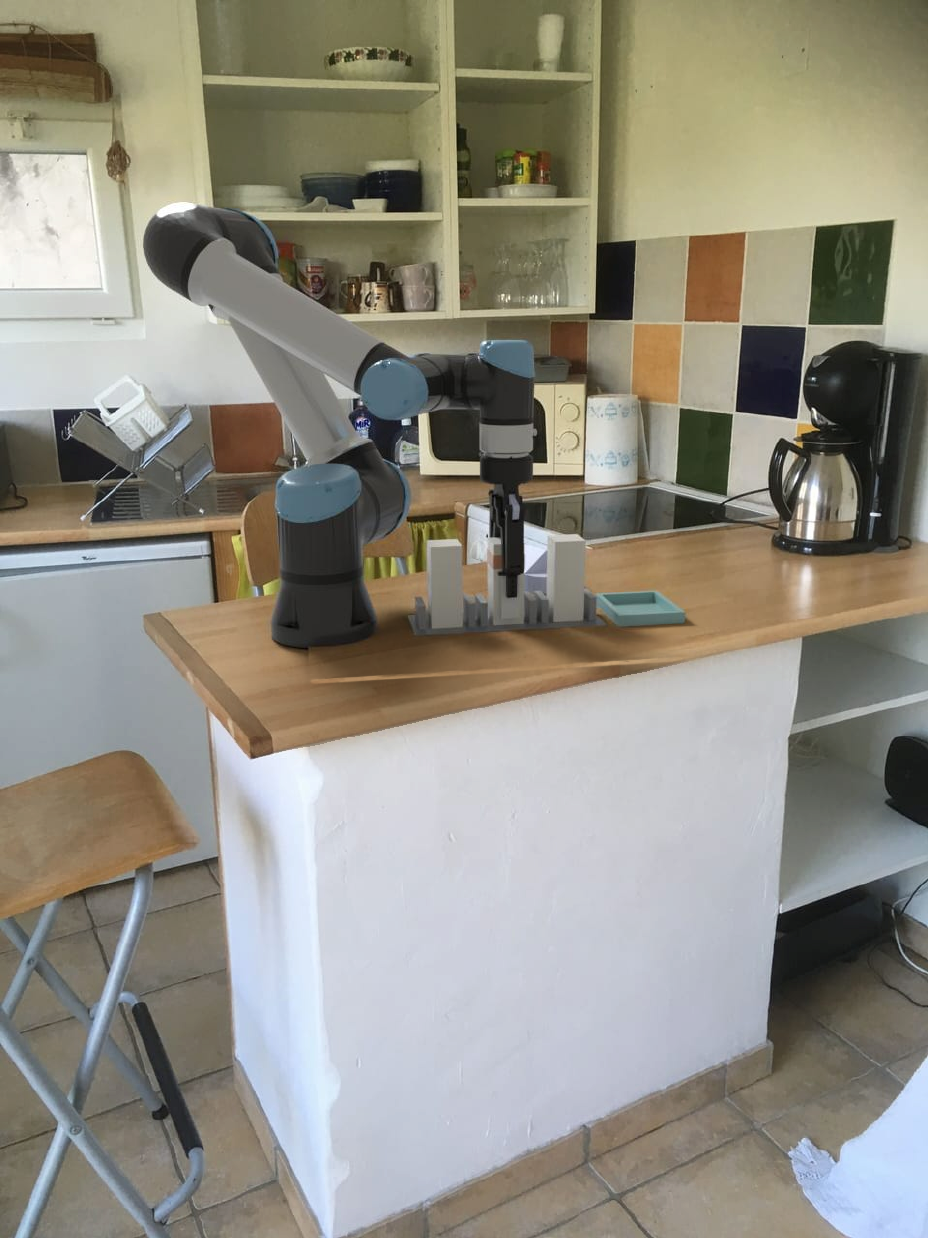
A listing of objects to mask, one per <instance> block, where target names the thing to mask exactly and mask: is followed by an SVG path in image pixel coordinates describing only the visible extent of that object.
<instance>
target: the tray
mask: <svg viewBox="0 0 928 1238" xmlns="http://www.w3.org/2000/svg"><path fill="white" fill-rule="evenodd" d="M594 595H595V596H596V597H597V601H596V607H597V608H598V609H599V610H601V611H602V612H603V614H605V615H606V616H607V617H608V618H609V619H610V621H612V622H614V624H616V626H618V627H620V628H621V627H633V626H634V627H636V626H653V625H670V624H673V625H674V624H685V621H686V611H685V610H684V609H682V608H680V607H679V606H678V605H677V604H675V603H674V602H673V601H671V600H670V599H669V598H668V597H666V596H665V595H664V594H663V593H661V592H660V591H659V590H640V591H638V590H637V591H620V592H619V591H618V592H617V591H616V592H601V593H595V594H594Z"/></svg>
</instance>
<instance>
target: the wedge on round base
mask: <svg viewBox="0 0 928 1238" xmlns="http://www.w3.org/2000/svg"><path fill="white" fill-rule="evenodd" d="M524 554H525V568H524V592H525V591H529V592H530V593H531V594H534V591H541V592H542V593H543V594H544V595H547V549H543V548H540V547H537V546H533V545H530V544H526V543H525V551H524Z"/></svg>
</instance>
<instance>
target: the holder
mask: <svg viewBox="0 0 928 1238" xmlns="http://www.w3.org/2000/svg"><path fill="white" fill-rule="evenodd" d="M596 601H597V597H596V596H595V594H594V593H593V592H591V590H589V589H588V587H587V588H585V587H584V611H583V620H580V621H562V622H553V621H552V620H551V618H550V617H549V616H548V613H549V599H548V598H547V597H546V594H543V593H542V592H541V591H534V593H530V592H529V591H524V624H507V625H493V624H492V622H491V621H490V619H489V618H488V600H487V599H486V598H485V597H484V595H483V594H482V593H475V594H474V598H473V597H472V596H471V594H470V593H469V594H468V593H466V594H463V627H452V628H434V629H432V628H431V625H430V623H429V621H428V613H427V606H426V605H427V604H426V603H425V601H424V599H423V597H422V596H414V614H408V615H407V618H408V621H409V624H410V627H411V629H412V631H413V634H414V636H416V637H417V636H434V635H435V636H438V635H453V634H454V635H455V634H470V633H473V634H474V633H487V632H488V633H489V632H490V633H491V632H492V633H493V632H507V631H508V632H509V631H526V630H541V629H542V630H543V629H544V630H545V629H560V628H576V627H577V628H579V627H580V628H581V627H593V626H595V627H596V626H597V627H599V626H607V623H606V622H605V621H604V620H603V619H602V618H600V616H599V615H598V614H597V605H596Z"/></svg>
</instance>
